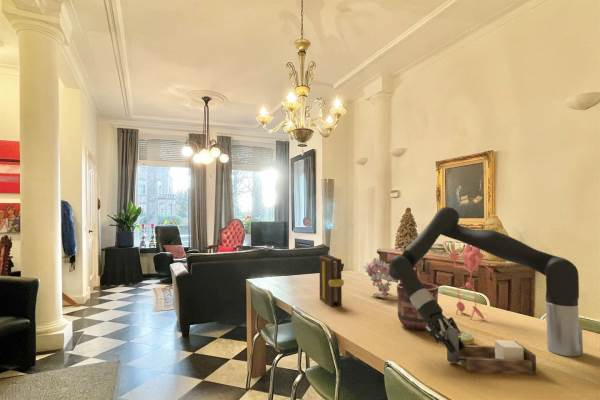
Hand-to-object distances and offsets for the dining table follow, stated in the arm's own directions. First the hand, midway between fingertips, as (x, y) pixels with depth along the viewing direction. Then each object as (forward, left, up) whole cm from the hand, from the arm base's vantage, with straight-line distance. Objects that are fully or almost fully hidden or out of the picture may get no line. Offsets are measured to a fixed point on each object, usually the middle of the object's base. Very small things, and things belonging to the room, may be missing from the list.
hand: (458, 350), depth 112 cm
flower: (+12, -97, -5) cm, 98 cm away
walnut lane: (-11, -1, -5) cm, 12 cm away
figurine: (-27, -58, -5) cm, 65 cm away
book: (+43, -77, -5) cm, 89 cm away
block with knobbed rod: (-8, -1, -4) cm, 9 cm away
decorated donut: (-7, -21, -6) cm, 23 cm away
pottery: (+4, -39, -5) cm, 40 cm away
